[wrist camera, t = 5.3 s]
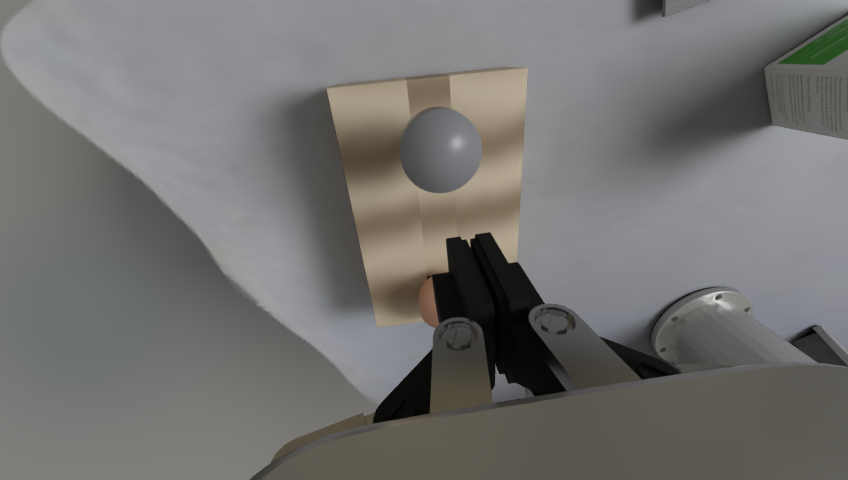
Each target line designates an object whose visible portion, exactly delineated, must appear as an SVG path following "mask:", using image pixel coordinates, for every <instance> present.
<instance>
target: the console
mask: <svg viewBox="0 0 848 480" xmlns="http://www.w3.org/2000/svg"><path fill="white" fill-rule="evenodd" d="M527 71H528V68H526V67H502V68H493V69H483V70H474V71H464V72H454V73H445V74H435V75H425V76H416V77H406V78H396V79H387V80H377V81H367V82H358V83H348V84H338V85H335V86H332V87H329V88H327V93H328V97H329V102H330V107H331V112H332V116H333V121H334V126H335V130H336V135H337V140H338V144H339V149H340V154H341V159H342V163H343V168H344V173H345V177H346V182H347V187H348V192H349V196H350V201H351V206H352V210H353V215H354V220H355V225H356V229H357V234H358V239H359V243H360V248H361V253H362V257H363V262H364V267H365V272H366V276H367V281H368V286H369V290H370V295H371V300H372V305H373V309H374V314H375V319H376V323H377V328H378V327H386V326H394V325H402V324H410V323H418V322H425V321H424V320H423V318H422V317H421V314H420V307H419V296H418V295H419V290H420V288H421V286H422V285H423V283H424V282H425V281H426V280H427V279H429V278H430V277H431V276H432V274H439V273H446V272H449V270H448V259H447V248H446V238H453V237H461V239H462V240H465V239H467V241H468V244H469V246H470V239H472V238H475V234H480V233H487V232H490V233H491V234H492V236H493V238H494V239H495V241H496V243H497V244H498V246H499V248H500V249H501V251H502V253H503V255H504V256H505V258H506V260H507V261H508V263H514V262H517V249H518V231H519V213H520V196H521V178H522V160H523V142H524V125H525V107H526V89H527ZM431 107H447V108H451V109H453V110H456V111H457V112H459V113H460V114H462V115H463V116H465V117H466V118H467V119H468V120H470V121H471V122H472V124H473V125H474V126H475V128H476V129H477V131H478V133H479V135H480V138H481V142H482V157H481V162H480V165H479V167H478V169H477V171H476V173H475V175H474V176H473V177H472V178H471V179H470V180H469V181H468V182H467V183H466V184H465V185H464V186H462V187H460V188H459V189H457V190H454V191H451V192H447V193H432V192H428V191H425V190H423V189H420V188H419V187H417V186H416V185H415V184H413V183H412V182H411V181H410V179H409V178H408V177H407V175H406V174H405V172H404V170H403V167H402V164H401V158H400V140H401V135H402V133H403V130H404V128H405V126H406V125H407V123H408V122H409V121H410V120H411V119H410V118H413V117H414V116H415V115H416V114H417V113H419V112H421V111H423V110H425V109H428V108H431Z"/></svg>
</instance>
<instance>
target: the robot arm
mask: <svg viewBox="0 0 848 480" xmlns="http://www.w3.org/2000/svg"><path fill="white" fill-rule="evenodd" d="M446 248H447V259H448V270H449V272H446V273H439V274H432V282H433V290H434V297H435V304H436V310H437V316H438V321H439V325H438V326H437V327H436V329H435V331H434V335H433V349H432V350H431V351H430V352H429V353H428V354H427V355H426V356H425V357H424V358H423V359H422V360H421V361H420V363H419V364H418V365H417V366H416V367H415V368H414V369H413V370H412V371H411V372H410V373H409V374H408V375H407V376H406V377H405V378H404V379H403V380H402V381H401V383H400V384H399V385H398V386H397V387H396V388H395V389H394V390H393V391H392V392H391V393H390V394H389V395H388V396H387V397H386V398H385V399H384V400H383V402H382V403H381V404H380V405H379V407H378V408H377V410H376V412H375V413H372V414H370V415H367V416H364V415H363V413H361V414H358V415H356V416H353V417H350V418H348V419H345V420H343V421H341V422H338V423H335V424H332V425H330V426H327V427H325V428H322V429H319V430H317V431H314V432H312V433H309V434H307V435H304V436H301V437H299V438H296V439H294V440H292V441H290V442H289V443H287V444H285V445H284V446H283V447H282V448H281V449H280V450H279V451H278V452H277V453H276V455H275V456H274V458H273V460H272V461H271V463H270V464H269V465H267V466H266V467H265V468H263V469H262V470H261V471H259V472H258V473H257V474H256V475H254V476H253V477H252V478H251V479H250V480H848V367H846V366H839V365H832V364H825V363H817V362H816V361H814V360H813V359H812V358H810V357H809V356H807V355H806V354H804V353H803V352H802V351H800V350H799V349H797V348H796V347H795V346H793V345H792V344H790V343H789V342H787V341H786V340H785V339H783V338H782V337H780V336H779V335H777V334H776V333H775V332H773V331H772V330H770V329H769V328H767V327H766V326H765V325H763V324H762V323H760V322H759V321H758V320H756V319H755V318H753V305H752V303H751V301H750V299H749V298H747V297H746V296H745V295H744V294H742V293H740V292H739V291H737V290H735V289H731V288H724V287H718V288H710V289H705V290H701V291H699V292H696V293H693V294H691V295H689V296H687V297H685V298H683V299H681V300H680V301H678V302H677V303H675V304H674V305H673V306H671V307H670V308H669V309H668V310H667V311H666V312H665V313H664V314H663V315H662V316H661V317H660V319H659V320H658V322H657V323H656V325H655V327H654V329H653V331H652V336H651V344H652V347H653V349H654V350H655V351H656V353H657V354H658V355H659V356H660V357H661V358H662V359H664V360H666V361H668V362H672V363H676V366H675V368H674V367H672V366H671V365H669V364H668V363H666V362H663V361H661V360H659V359H657V358H654V357H652V356H649V355H646V354H644V353H641V352H639V351H636V350H633V349H631V348H628V347H625V346H623V345H620V344H618V343H615V342H612V341H610V340H607V339H604V338H602V337H599V336H598V335H597V334H596V333H595V332H594V331H593V330H592V329H591V328H590V327H589V326H588V325H587V324H586V323H585V322H584V321H583V320H582V319H581V318H580V317H579V316H578V315H577V314H576V313H575V312H574V311H572V310H571V309H569V308H567V307H565V306H562V305H558V304H545V303H544V302H543V300H542V299H541V297H540V296H539V294H538V293H537V291H536V289H535V288H534V286H533V285H532V283H531V282H530V280H529V278H528V277H527V275H526V274H525V272H524V271H523V269H522V268H521V266H520V265H519V263H517V262H514V263H508V261H507V260H506V258H505V256H504V255H503V253H502V251H501V249H500V248H499V246H498V244H497V243H496V241H495V239H494V238H493V236H492V234H491V233H490V232H487V233H480V234H475V238H472V239H470V246H469V244H468V241H467V239H465V240H462V239H461V237H453V238H446ZM495 364H496V367H497V369H498V372H499V374H505V376H506V379H507V381H508V384H510V383H518V384H520V385H521V386H523V387H525V393H526V396H527V398H522V399H516V400H510V401H503V402H497V403H493V401H492V393H491V390H492V389H493V387H494V386H495Z"/></svg>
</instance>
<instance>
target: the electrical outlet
mask: <svg viewBox="0 0 848 480" xmlns="http://www.w3.org/2000/svg"><path fill="white" fill-rule="evenodd" d="M707 1H709V0H663V4H662V17H665V16H668V15H671V14H673V13H676V12H679V11H682V10H684V9H687V8H690V7H693V6H695V5H698V4H701V3H704V2H707Z"/></svg>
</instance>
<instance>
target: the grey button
mask: <svg viewBox="0 0 848 480" xmlns="http://www.w3.org/2000/svg"><path fill="white" fill-rule="evenodd" d="M481 157H482V142H481V138H480V135H479V133H478V131H477V129H476V128H475V126H474V125H473V124H472V122H471V121H470V120H468V119H467V118H466V117H465V116H463V115H462V114H460V113H459V112H457V111H456V110H453V109H451V108H447V107H431V108H428V109H425V110H423V111H421V112H419V113H417V114H416V115H415V116H414V117H413V118H411V120H410V121H409V122H408V123H407V125H406V126H405V128H404V130H403V133H402V135H401V140H400V158H401V164H402V167H403V170H404V172H405V174H406V175H407V177H408V178H409V179H410V181H411V182H412V183H413V184H415V185H416V186H417V187H419V188H420V189H423V190H425V191H428V192H432V193H447V192H451V191H454V190H457V189H459V188H460V187H462V186H464V185H465V184H466V183H467V182H468V181H469V180H470V179H471V178H472V177H473V176H474V175H475V173H476V171H477V169H478V167H479V165H480V162H481Z"/></svg>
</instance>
